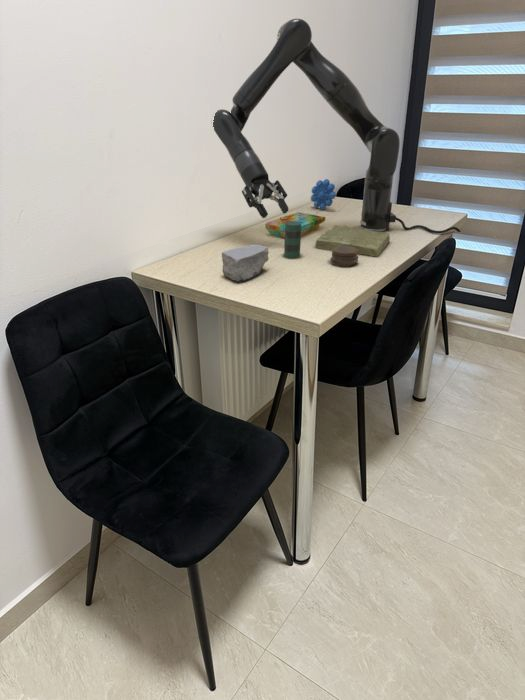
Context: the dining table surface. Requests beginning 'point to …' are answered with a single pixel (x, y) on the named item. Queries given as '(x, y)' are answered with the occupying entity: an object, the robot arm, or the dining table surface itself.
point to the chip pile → (344, 256)
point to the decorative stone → (244, 262)
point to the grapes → (323, 194)
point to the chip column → (292, 239)
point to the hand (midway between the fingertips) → (276, 214)
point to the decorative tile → (354, 239)
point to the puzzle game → (306, 220)
